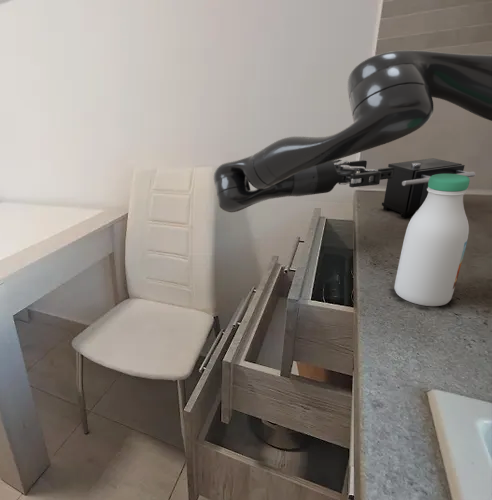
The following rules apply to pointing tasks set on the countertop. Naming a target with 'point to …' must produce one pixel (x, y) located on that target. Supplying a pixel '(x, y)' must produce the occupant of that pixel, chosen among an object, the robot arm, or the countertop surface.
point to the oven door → (422, 180)
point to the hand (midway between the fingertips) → (378, 168)
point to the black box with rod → (400, 194)
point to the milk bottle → (434, 243)
